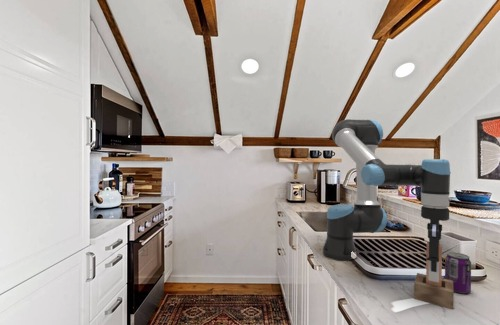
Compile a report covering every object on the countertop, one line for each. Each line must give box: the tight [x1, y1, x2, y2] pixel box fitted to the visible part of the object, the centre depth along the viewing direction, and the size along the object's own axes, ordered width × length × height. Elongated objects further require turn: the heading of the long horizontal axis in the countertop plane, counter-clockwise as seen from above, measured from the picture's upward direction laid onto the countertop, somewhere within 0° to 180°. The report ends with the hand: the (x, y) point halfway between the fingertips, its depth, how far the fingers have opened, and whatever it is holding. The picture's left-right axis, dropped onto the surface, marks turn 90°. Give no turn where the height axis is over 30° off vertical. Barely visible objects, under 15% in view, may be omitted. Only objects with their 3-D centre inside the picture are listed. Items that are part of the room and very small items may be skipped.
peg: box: [425, 241, 443, 287], centre depth 86 cm, size 4×4×14 cm
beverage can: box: [444, 251, 472, 294], centre depth 91 cm, size 7×7×12 cm
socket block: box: [413, 272, 455, 310], centre depth 86 cm, size 10×10×5 cm
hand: (433, 278), depth 86 cm, fingers closed on peg, 4 cm apart
